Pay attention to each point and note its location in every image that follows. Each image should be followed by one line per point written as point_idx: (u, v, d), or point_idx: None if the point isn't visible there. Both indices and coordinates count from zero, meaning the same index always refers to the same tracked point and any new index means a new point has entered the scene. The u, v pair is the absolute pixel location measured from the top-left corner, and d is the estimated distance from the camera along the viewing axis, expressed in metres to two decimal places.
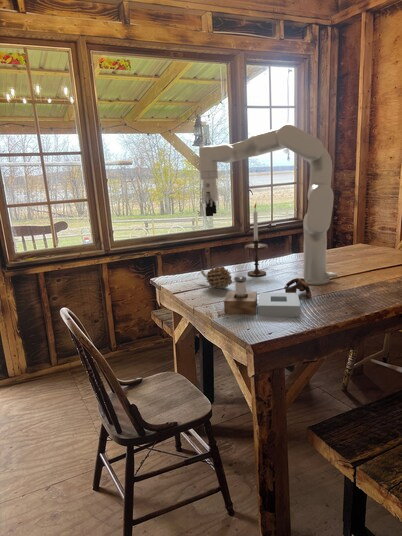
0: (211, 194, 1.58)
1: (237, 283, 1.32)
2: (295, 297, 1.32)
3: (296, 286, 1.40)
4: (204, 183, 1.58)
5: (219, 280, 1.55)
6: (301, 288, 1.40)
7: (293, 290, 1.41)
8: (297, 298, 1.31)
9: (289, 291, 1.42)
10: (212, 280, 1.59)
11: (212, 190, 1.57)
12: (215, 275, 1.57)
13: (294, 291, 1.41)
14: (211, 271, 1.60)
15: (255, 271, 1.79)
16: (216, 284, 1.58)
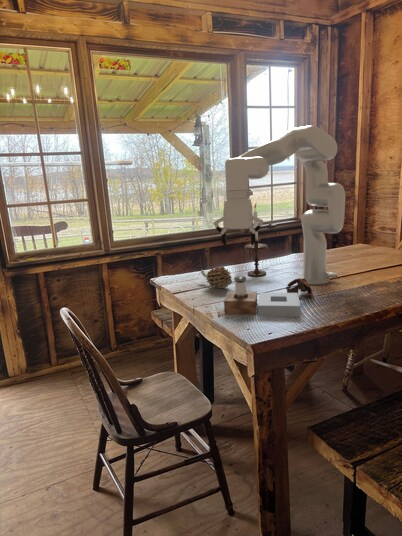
0: None
1: (237, 283, 1.32)
2: (295, 297, 1.32)
3: (298, 286, 1.40)
4: (249, 204, 1.24)
5: (219, 280, 1.55)
6: (303, 288, 1.40)
7: (295, 290, 1.40)
8: (297, 298, 1.31)
9: (291, 291, 1.41)
10: (212, 280, 1.59)
11: None
12: (215, 275, 1.57)
13: (296, 291, 1.40)
14: (211, 271, 1.60)
15: (255, 271, 1.79)
16: (216, 284, 1.58)
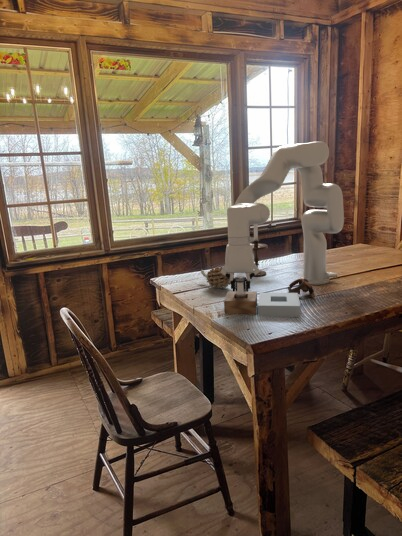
0: None
1: (237, 283, 1.32)
2: (295, 297, 1.32)
3: (300, 287, 1.39)
4: (251, 250, 1.28)
5: (219, 280, 1.55)
6: (305, 289, 1.39)
7: (297, 291, 1.40)
8: (297, 298, 1.31)
9: (293, 292, 1.41)
10: (212, 280, 1.59)
11: None
12: (215, 275, 1.57)
13: (298, 292, 1.39)
14: (211, 271, 1.60)
15: None
16: (216, 284, 1.58)
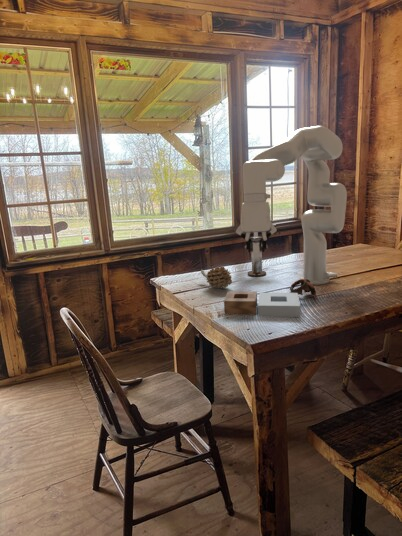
0: (270, 220, 1.27)
1: (253, 243, 1.27)
2: (295, 297, 1.32)
3: (302, 287, 1.39)
4: (267, 207, 1.23)
5: (219, 280, 1.55)
6: (307, 289, 1.39)
7: (299, 291, 1.39)
8: (297, 298, 1.31)
9: (295, 292, 1.40)
10: (212, 280, 1.59)
11: None
12: (215, 275, 1.58)
13: (300, 292, 1.39)
14: (211, 271, 1.60)
15: None
16: (216, 284, 1.58)
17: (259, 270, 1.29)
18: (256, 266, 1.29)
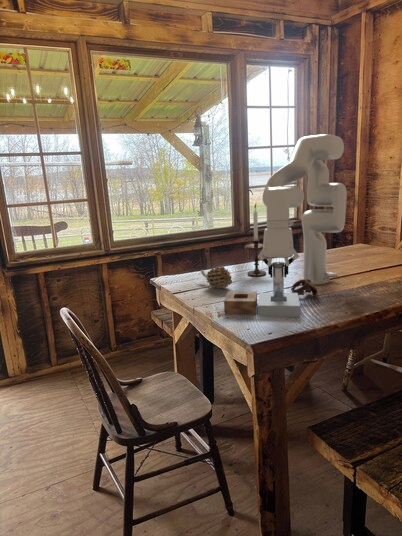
0: None
1: (275, 269, 1.27)
2: (295, 297, 1.32)
3: (303, 287, 1.38)
4: (291, 234, 1.24)
5: (219, 280, 1.55)
6: (308, 289, 1.38)
7: (300, 291, 1.39)
8: (297, 298, 1.31)
9: None
10: (212, 280, 1.59)
11: None
12: (215, 275, 1.58)
13: (301, 292, 1.38)
14: (211, 271, 1.60)
15: (255, 271, 1.79)
16: (216, 284, 1.58)
17: (281, 295, 1.29)
18: (278, 291, 1.29)
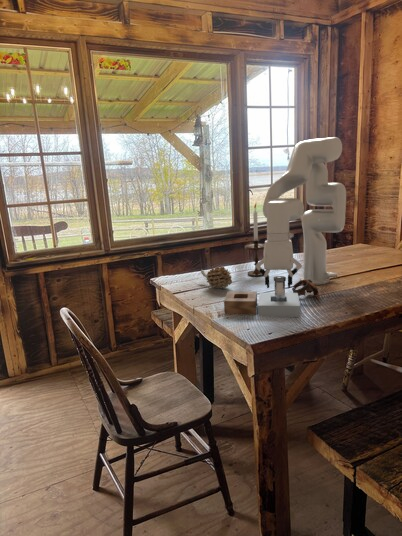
0: None
1: (277, 283, 1.29)
2: (295, 297, 1.32)
3: (305, 288, 1.38)
4: (291, 246, 1.25)
5: (219, 280, 1.55)
6: (310, 290, 1.38)
7: (302, 292, 1.38)
8: (297, 298, 1.31)
9: None
10: (212, 280, 1.59)
11: None
12: (215, 275, 1.57)
13: (303, 293, 1.38)
14: (211, 271, 1.60)
15: (255, 271, 1.79)
16: (216, 284, 1.58)
17: None
18: None
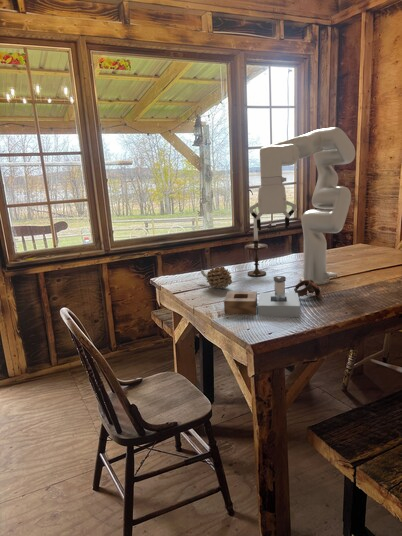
0: None
1: (277, 283, 1.29)
2: (295, 297, 1.32)
3: (307, 288, 1.37)
4: (284, 190, 1.30)
5: (219, 280, 1.55)
6: (312, 290, 1.37)
7: (304, 292, 1.38)
8: (297, 298, 1.31)
9: (300, 293, 1.39)
10: (212, 280, 1.60)
11: None
12: (215, 275, 1.58)
13: (305, 293, 1.37)
14: (211, 271, 1.60)
15: (255, 271, 1.79)
16: (216, 284, 1.58)
17: None
18: None
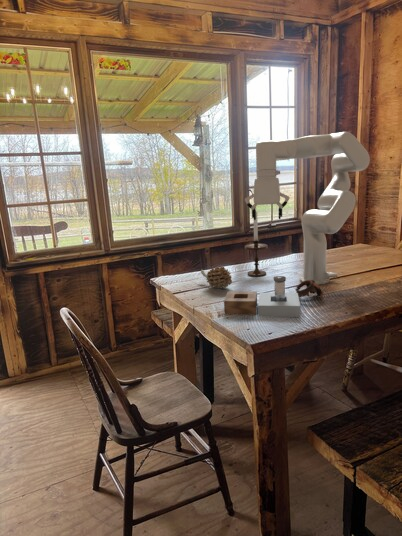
0: None
1: (277, 283, 1.29)
2: (295, 297, 1.32)
3: (309, 288, 1.37)
4: (278, 182, 1.39)
5: (219, 280, 1.55)
6: (314, 290, 1.37)
7: (305, 292, 1.37)
8: (297, 298, 1.31)
9: (301, 293, 1.38)
10: (212, 280, 1.59)
11: None
12: (215, 275, 1.58)
13: (307, 293, 1.37)
14: (211, 271, 1.60)
15: (255, 271, 1.79)
16: (216, 284, 1.58)
17: None
18: None
